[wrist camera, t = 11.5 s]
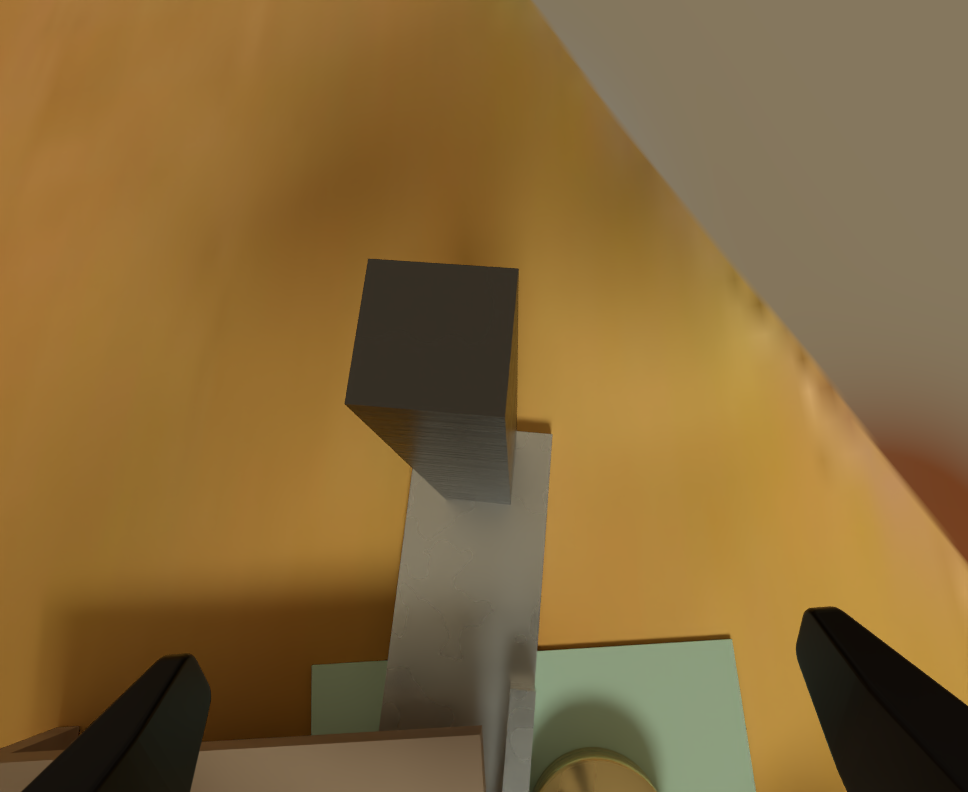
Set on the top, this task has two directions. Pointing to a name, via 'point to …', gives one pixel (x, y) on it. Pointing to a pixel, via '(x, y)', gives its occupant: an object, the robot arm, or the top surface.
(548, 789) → the token
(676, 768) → the mat
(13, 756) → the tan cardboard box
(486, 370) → the grey l-shaped block
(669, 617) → the top surface
